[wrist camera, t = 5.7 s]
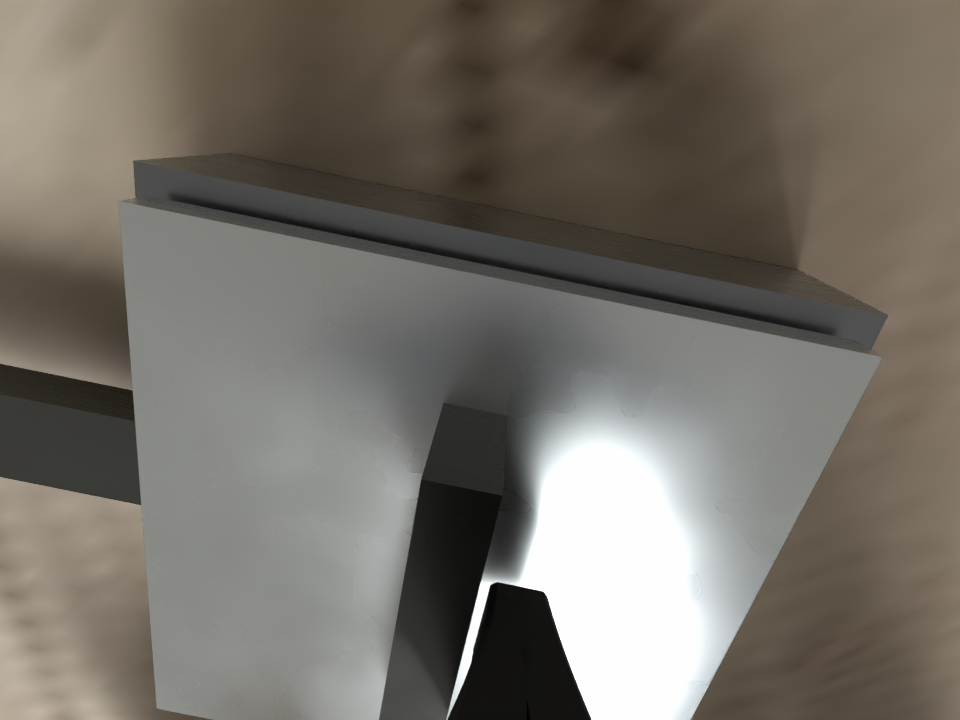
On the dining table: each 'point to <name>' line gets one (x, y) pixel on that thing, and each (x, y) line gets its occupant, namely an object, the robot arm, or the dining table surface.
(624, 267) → the square grey pan
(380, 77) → the dining table surface
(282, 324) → the lid
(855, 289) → the dining table surface
